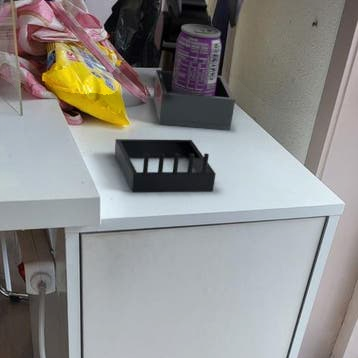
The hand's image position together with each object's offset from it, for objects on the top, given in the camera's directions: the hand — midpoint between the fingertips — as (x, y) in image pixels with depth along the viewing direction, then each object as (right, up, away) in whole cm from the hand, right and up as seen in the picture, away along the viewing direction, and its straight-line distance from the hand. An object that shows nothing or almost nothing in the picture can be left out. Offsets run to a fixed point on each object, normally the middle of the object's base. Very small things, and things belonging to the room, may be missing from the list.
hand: (206, 21), depth 98 cm
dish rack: (-6, -26, -8) cm, 28 cm away
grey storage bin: (-2, -10, +11) cm, 14 cm away
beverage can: (-2, -9, +10) cm, 14 cm away
